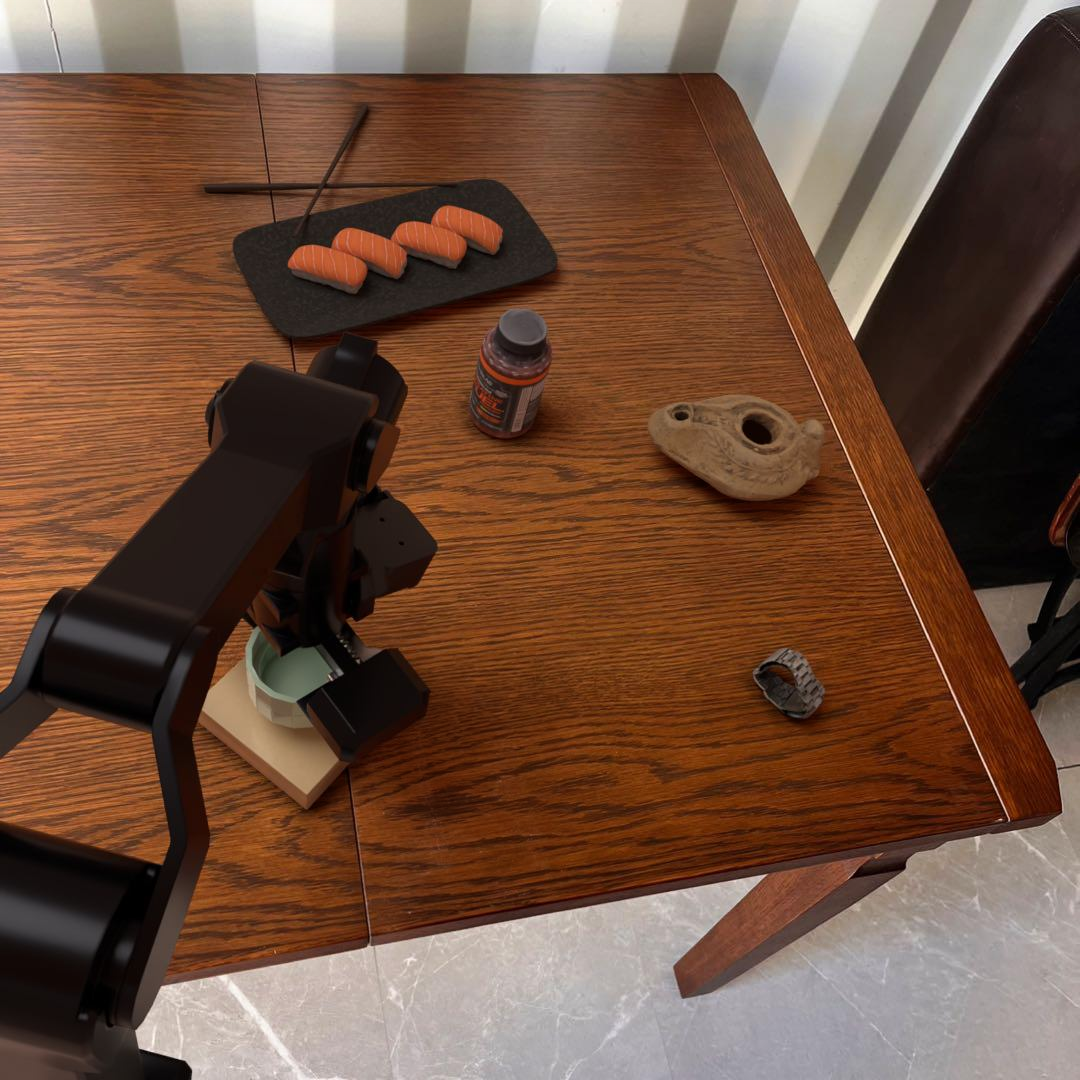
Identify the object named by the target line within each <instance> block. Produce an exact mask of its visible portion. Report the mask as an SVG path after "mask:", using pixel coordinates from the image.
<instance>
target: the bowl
mask: <svg viewBox="0 0 1080 1080" xmlns="http://www.w3.org/2000/svg"><path fill="white" fill-rule="evenodd" d="M337 637H339V635H337ZM342 641H343V640H341V642H342ZM344 646H345V648H346V646H347V645H344ZM350 651H351V650H348V652H350ZM245 656H246V672H247V682H248V692H249V695H250V697H251V699H252V701H253V703H254V705H255V707H256V709H257V710H258V711H259V712H260V713H261V714H263V715H264V716H265V717H266V718H268V719H269V720H270V721H271V722H274V723H276V724H280V725H283V726H286V727H290V728H305V727H314V726H313V725H312V724H311V722H310V721H309V719H308V718H307V717H306V715H305V714H304V713H303V711H302V710H301V708H300V707H299V706H298V704H297V703H296V701H297V700H299V699H300V698H302V697H304V696H305V695H307V694H309V693H310V692H312V691H314V690H315V689H317V688H319V687H320V686H322V685H323V684H325V683H327V682H328V681H327V675H328V674H329V673H331V672H333V671H332V670H331V669H330V667H329V666H328V665H327V663H326V662H325V661H324V659H323V658H322V657H321V655H320V654H319V653H318V651H317V650H316V649H315V647H311V648H297V649H295V650H293V651H292V652H290V653H288V654H286V655H285V656H283V657H280V656H279V654H278V653H277V652H276V650H275V649H274V648H273V646H272V645H271V643H270V642H269V641H268V639H267V638H266V637H265V635H264V634H263V633H262V631H261V630H260V629H259V627H258V626H257V627H256V628H255V629H253V630H252V632H251V635H250V637H249V639H248V641H247V643H246V646H245ZM351 656H352V657H354V655H351Z"/></svg>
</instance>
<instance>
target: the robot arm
mask: <svg viewBox="0 0 1080 1080" xmlns="http://www.w3.org/2000/svg"><path fill="white" fill-rule="evenodd" d="M378 349H379V341H378V340H376V339H373V338H368V337H365V336H363V335H358V334H355V333H352V332H349V331H346V332H342V336H341V338H340V340H339V342H338V343H337V344H331V345H329V346H326V347H324V348H321V349H320V350H319V351H317V352H316V353H315V354H314V356H313V358H312V360H311V362H310V364H309V366H308V368H307V370H306V372H305V373H302V372H298V371H295V370H292V369H288V368H285V367H281V366H277V365H275V364H270V363H267V362H263V361H261V360H257V359H253V360H251V361H249V362H248V363H246V364H244V365H243V366H242V367H241V368H240V370H239V371H238V372H237V374H236V375H235V376H234V377H228V378H227V379H226V380H225V381H224V382H223V384H222V385H221V387H220V388H219V389H217V390H216V391H215V394H214V396H212V397H211V398H210V399H209V401H208V403H207V406H206V409H205V413H204V421H205V423H206V426H207V443H208V447H209V449H210V451H209V454H208V455H207V456H206V457H205V458H204V459H203V460H202V461H201V462H200V463H199V464H198V465H197V466H196V467H195V468H194V469H193V471H191V473H189V475H188V476H187V477H186V478H185V479H184V480H183V481H182V483H180V484H179V485H178V487H176V489H175V490H174V491H173V492H172V493H171V494H170V496H168V497H167V498H166V499H165V501H163V503H162V504H161V505H160V506H159V507H158V508H157V509H156V510H155V511H154V512H153V514H151V516H150V517H149V518H148V519H146V521H145V522H144V523H143V524H142V525H141V526H140V528H138V530H137V531H136V532H135V533H133V535H132V536H131V537H130V538H129V539H128V540H127V541H126V542H125V543H124V544H123V545H122V546H121V548H120V549H119V550H118V551H116V553H115V554H114V555H113V556H112V557H111V558H110V559H109V561H108V562H107V563H105V565H104V566H103V567H102V568H101V569H100V570H99V571H98V572H97V574H95V575H94V577H92V579H91V580H90V581H89V582H88V583H87V584H85V585H84V586H83V587H82V588H80V589H78V588H75V587H68V586H63V587H61V588H60V589H58V590H57V591H56V592H55V593H53V594H52V595H51V597H50V598H49V599H48V601H47V602H46V604H45V605H44V606H43V608H42V609H41V611H40V613H39V615H38V617H37V619H36V621H35V623H34V624H33V627H32V629H31V632H30V633H29V637H28V638H27V641H26V644H25V646H24V649H23V652H22V654H21V656H20V658H19V661H18V663H17V666H16V668H15V670H14V673H13V676H12V678H11V681H10V682H9V684H8V685H7V686H6V687H5V688H4V689H3V690H1V691H0V761H1V760H2V759H3V758H4V757H5V756H6V755H8V754H9V753H10V752H12V750H13V749H14V748H16V747H17V746H18V745H19V744H20V743H22V742H23V741H24V740H25V739H26V738H28V736H30V735H31V734H32V733H33V732H34V731H36V730H37V729H38V728H39V727H40V726H41V725H42V724H44V723H45V722H46V721H47V720H48V719H50V717H51V716H53V715H54V714H55V713H57V711H58V710H59V709H60V710H63V711H67V712H70V713H74V714H78V715H81V716H85V717H88V718H93V719H95V720H100V721H102V722H103V721H104V722H106V723H110V724H114V725H117V726H121V727H124V728H128V729H131V730H136V731H140V732H143V733H146V734H149V735H151V739H152V745H153V751H154V757H155V762H156V768H157V773H158V778H159V784H160V789H161V795H162V801H163V805H164V811H165V816H166V822H167V827H168V834H169V838H170V839H169V845H168V848H167V851H166V853H165V856H164V859H163V862H162V863H163V864H161V863H158V862H154V861H150V860H147V859H143V858H139V857H136V856H132V855H128V854H124V853H121V852H118V851H113V850H110V849H106V848H104V847H103V848H102V847H99V846H96V845H91V844H88V843H85V842H81V841H77V840H74V839H70V838H66V837H62V836H60V835H59V836H58V835H55V834H52V833H48V832H44V831H41V830H37V829H33V828H30V827H25V826H22V825H18V824H15V823H11V822H7V821H4V820H1V819H0V1080H192V1079H193V1068H192V1067H191V1066H190V1065H189V1063H188V1062H187V1061H186V1060H184V1059H180V1058H178V1057H177V1058H176V1057H173V1056H169V1055H165V1054H161V1053H158V1052H154V1051H152V1050H151V1051H150V1050H147V1049H143V1048H140V1047H139V1041H138V1037H137V1032H136V1031H137V1030H138V1029H139V1028H140V1027H141V1025H142V1024H143V1023H144V1021H145V1020H146V1018H147V1016H148V1015H149V1013H150V1011H151V1009H152V1007H153V1005H154V1003H155V1001H156V999H157V997H158V994H159V992H160V991H161V987H162V986H163V983H164V980H165V978H166V975H167V973H168V969H169V967H170V964H171V962H172V958H173V955H174V952H175V950H176V946H177V943H178V940H179V937H180V935H181V932H182V928H183V926H184V924H185V920H186V918H187V914H188V911H189V908H190V905H191V902H192V899H193V896H194V893H195V891H196V888H197V885H198V882H199V879H200V876H201V873H202V870H203V867H204V864H205V861H206V858H207V855H208V852H209V849H210V844H211V843H210V842H211V831H210V825H209V820H208V816H207V810H206V805H205V799H204V795H203V794H204V793H203V789H202V784H201V779H200V773H199V767H198V763H197V757H196V752H195V746H194V741H193V737H194V733H195V731H196V727H197V725H198V723H199V722H198V719H199V716H200V714H201V711H202V708H203V705H204V702H205V699H206V697H207V694H208V691H209V690H210V689H211V684H212V682H213V678H214V674H215V671H216V669H217V664H218V658H219V654H220V652H221V650H223V648H224V646H225V645H226V643H227V642H228V640H229V638H230V637H231V636H232V634H233V632H234V631H235V629H236V628H237V626H238V625H239V623H240V622H241V621H242V620H243V621H244V622H246V623H247V625H249V626H250V627H251V628H252V629H253V630H254V629H255V628H256V627H257V626H258V627H259V629H260V630H261V631H262V633H263V634H264V635H265V637H266V638H267V639H268V641H269V642H270V643H271V645H272V646H273V648H274V649H275V650H276V652H277V653H278V654H279V656H280V657H283V656H285V655H286V654H288V653H290V652H292V651H293V650H295V649H297V648H311V647H315V649H316V650H317V651H318V653H319V654H320V655H321V657H322V658H323V659H324V661H325V662H326V663H327V665H328V666H329V667H330V669H331V670H332V671H333V672H331V673H329V674H328V675H327V681H328V682H327V683H325V684H323V685H322V686H320V687H319V688H317V689H315V690H314V691H312V692H310V693H309V694H307V695H305V696H304V697H302V698H300V699H299V700H297V701H296V703H297V704H298V706H299V707H300V708H301V710H302V711H303V713H304V714H305V715H306V717H307V718H308V719H309V721H310V722H311V724H312V725H313V726H314V728H315V729H316V730H317V732H318V733H319V734H320V735H321V736H322V737H323V739H324V740H325V741H326V743H327V744H328V746H329V747H330V748H331V750H332V751H333V752H334V754H335V755H336V757H337V758H338V759H339V761H343V762H350V763H349V764H355V763H357V762H358V761H359V760H361V759H362V758H364V757H366V756H367V755H368V754H370V753H372V752H374V751H375V750H376V749H378V748H379V747H381V746H382V745H384V744H386V743H387V742H388V741H390V740H391V739H393V738H394V737H396V736H397V735H399V734H401V733H402V732H404V731H405V730H407V729H409V728H410V727H412V726H413V725H414V724H416V723H418V722H419V721H421V720H422V719H423V718H425V717H427V713H428V709H429V705H430V698H431V692H432V689H430V687H429V686H428V685H427V683H426V682H425V681H424V680H423V679H422V677H421V676H420V675H419V673H418V672H417V671H416V669H414V667H413V666H412V664H411V663H410V662H409V661H408V659H407V658H406V657H405V655H404V654H403V653H402V651H401V650H400V649H399V648H398V647H389V648H387V647H386V648H384V649H382V648H380V647H375V646H374V647H369V646H368V647H367V645H366V644H365V643H364V642H363V641H362V639H361V637H360V636H359V635H358V634H357V633H356V631H355V630H354V629H353V628H352V626H351V625H350V623H348V621H347V620H349V619H350V618H351V619H352V620H353V621H354V622H355V623H359V622H360V621H362V620H364V619H366V618H367V617H368V616H371V615H372V614H374V612H375V602H376V599H381V598H383V597H386V596H390V595H392V594H395V593H398V592H401V591H402V590H405V589H413V588H415V587H416V586H418V585H419V584H420V583H421V580H422V578H423V577H424V575H425V573H426V571H427V570H428V568H429V566H430V565H431V562H432V561H433V559H434V557H435V556H436V553H437V552H438V549H439V545H438V542H437V541H436V539H435V537H434V536H433V535H432V534H431V532H429V531H428V529H427V528H426V527H425V526H424V524H423V523H422V522H421V521H420V520H419V518H418V517H417V516H416V514H415V513H414V512H413V511H412V510H411V509H410V508H409V507H408V506H407V504H405V503H404V502H402V501H401V500H399V499H396V498H395V497H394V496H393V494H392V493H391V492H390V491H389V490H388V489H384V490H382V488H381V486H379V484H378V482H379V481H380V479H381V477H382V476H383V475H384V473H385V472H386V470H387V469H388V467H389V465H390V463H391V460H392V458H393V455H394V453H395V450H396V448H397V445H398V442H399V439H400V436H401V431H402V429H401V428H399V427H397V423H398V421H399V418H400V416H401V412H402V410H403V408H404V406H405V405H404V404H405V402H406V399H407V397H408V394H409V386H408V384H406V381H405V379H404V377H403V376H402V374H401V372H400V371H399V370H398V369H397V368H396V366H394V365H393V364H392V362H391V361H389V360H388V359H386V358H385V357H383V356H382V355H380V353H379V354H378ZM337 635H339V637H337ZM341 640H343V641H342V642H341ZM344 645H347V646H346V648H345V646H344ZM348 650H351V651H350V652H348ZM351 655H354V657H352V656H351ZM356 660H359V663H358V662H357V661H356Z"/></svg>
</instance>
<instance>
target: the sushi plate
mask: <svg viewBox="0 0 1080 1080" xmlns="http://www.w3.org/2000/svg"><path fill="white" fill-rule="evenodd" d="M368 109H369V104H366V103H362V105H361V107H360V108H359V110H358V112H357V114H356V116H355V118H354V119H353V121H352V123H351V125H350V127H349V129H348V131H347V132H346V135H345V136H344V138H343V140H342V142H341V144H340V145H339V148H338V150H337V152H336V154H335V155H334V158H333V160H332V162H330V163H331V164H330V165H329V167H328V169H327V172H326V173H325V175H324V177H323V179H322V180H321V182H317V183H316V182H300V183H299V182H254V183H253V182H252V183H251V182H250V183H249V182H248V183H247V182H246V183H245V182H241V183H240V182H239V183H238V182H237V183H234V182H233V183H232V182H229V183H223V182H222V183H205V184H203V188H204V192H205V193H235V192H238V193H239V192H242V193H243V192H272V191H273V192H276V191H301V190H303V191H306V190H307V191H308V190H316V192H315V193H314V196H313V197H312V199H311V200H310V203H309V204H308V206H307V208H306V210H305V212H304V213H303V215H300V216H295V217H291V218H286V219H283V220H278V221H272V222H269V223H265V224H261V225H258V226H255V227H251V228H249V229H246V230H244V231H242V232H240V233H238V234H237V235H236V236H235V237H234V238H233V241H232V253H233V257H234V259H235V262H236V265H237V266H238V268H239V269H238V270H239V271H240V273H241V274H242V277H243V278H244V280H245V282H246V284H247V286H248V288H249V290H250V292H251V293H252V295H253V296H254V298H255V300H256V302H257V304H258V305H259V307H260V309H261V311H262V312H263V314H264V316H265V317H266V318H267V320H268V322H269V323H270V324H271V326H272V327H273V328H274V329H275V330H276V331H277V332H278V333H279V334H281V335H282V336H284V337H286V338H288V339H291V340H300V341H302V340H303V341H305V340H315V339H320V338H325V337H329V336H335V335H338V334H343V333H344V332H350V331H354V330H357V329H361V328H366V327H369V326H372V325H376V324H380V323H383V322H387V321H390V320H395V319H399V318H403V317H407V316H410V315H413V314H417V313H421V312H425V311H428V310H432V309H435V308H440V307H443V306H447V305H451V304H455V303H458V302H463V301H466V300H469V299H474V298H476V297H481V296H486V295H488V294H491V293H496V292H500V291H504V290H507V289H510V288H511V289H512V288H514V287H517V286H521V285H525V284H528V283H532V282H535V281H537V280H539V279H543V278H545V277H547V276H549V275H550V274H552V273H553V272H554V271H555V270H556V269H557V268H558V262H559V260H558V257H557V256H558V255H557V254H556V251H555V248H554V247H553V246H552V244H551V242H550V241H549V240H548V238H547V236H546V235H545V233H544V232H543V231H542V229H541V228H540V226H539V225H538V223H537V222H536V221H535V219H534V218H533V217H532V215H531V214H530V213H529V211H528V210H527V208H525V206H524V205H523V203H522V202H521V201H520V200H519V198H518V197H517V196H516V195H515V194H514V193H513V192H512V191H511V190H510V189H509V188H508V187H507V186H506V185H505V184H503V183H502V182H501V181H497V180H496V179H490V178H477V179H468V180H463V181H444V182H443V181H437V182H435V181H433V182H431V181H430V182H347V183H346V182H345V183H344V182H342V183H341V182H330V183H329V182H328V181H329V179H330V177H331V176H332V174H333V172H334V170H335V169H336V166H337V165H338V163H339V161H340V160H341V158H342V157H343V155H344V153H345V151H346V149H347V148H348V146H349V144H350V142H351V141H352V139H353V137H354V135H355V133H356V132H357V130H358V128H359V126H360V125H361V123H362V121H363V120H364V118H365V116H366V114H367V112H368ZM412 187H413V188H416V187H417V188H420V187H429V188H423V189H419V190H414V191H411V192H406V193H401V194H396V195H392V196H386V197H381V198H378V199H377V198H376V199H373V200H369V201H364V202H360V203H356V204H350V205H346V206H341V207H337V208H331V209H328V210H327V209H326V210H323V211H317V212H314V213H312V210H313V208H314V206H315V204H316V203H317V201H318V199H319V197H320V195H321V194H322V192H323V190H327V189H328V190H332V189H373V188H412Z"/></svg>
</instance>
